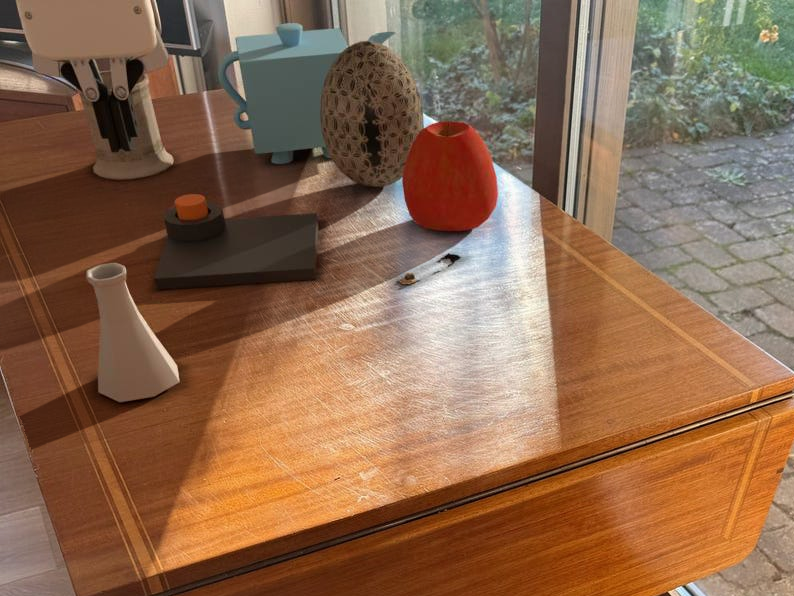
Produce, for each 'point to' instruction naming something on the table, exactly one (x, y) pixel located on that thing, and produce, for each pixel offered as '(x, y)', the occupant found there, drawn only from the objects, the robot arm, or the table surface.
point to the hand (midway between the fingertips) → (123, 146)
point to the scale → (237, 250)
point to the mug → (147, 146)
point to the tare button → (191, 207)
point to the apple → (449, 178)
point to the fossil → (410, 276)
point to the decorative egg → (370, 114)
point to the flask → (127, 342)
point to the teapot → (285, 86)
